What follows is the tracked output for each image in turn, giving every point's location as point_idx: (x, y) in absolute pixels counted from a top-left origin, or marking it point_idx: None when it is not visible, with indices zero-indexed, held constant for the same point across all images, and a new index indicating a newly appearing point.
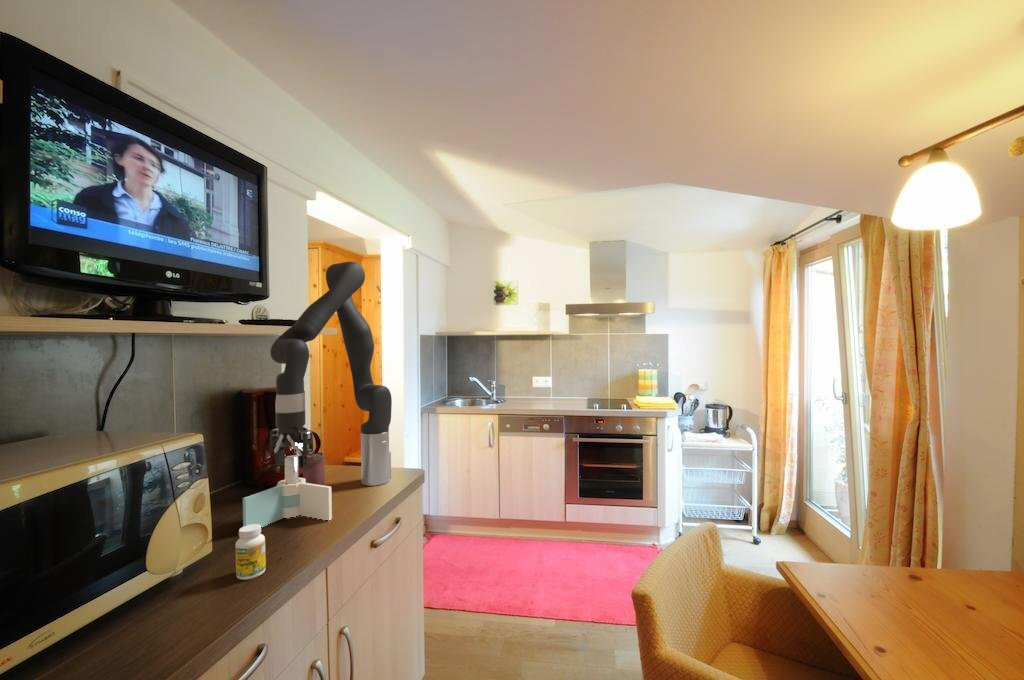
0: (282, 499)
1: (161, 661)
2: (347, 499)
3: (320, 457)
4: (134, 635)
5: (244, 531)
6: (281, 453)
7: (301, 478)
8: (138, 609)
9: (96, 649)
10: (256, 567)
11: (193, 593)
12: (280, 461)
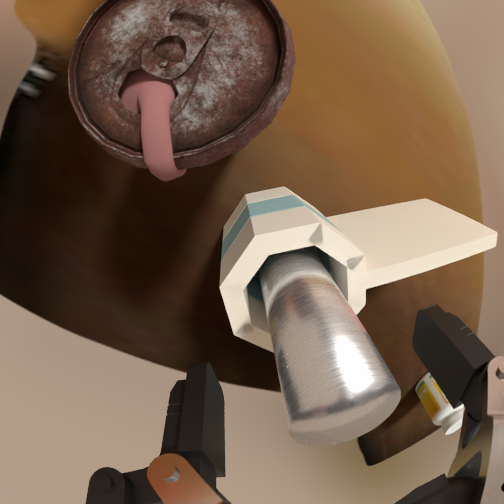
0: None
1: None
2: (323, 41)
3: (287, 35)
4: (403, 439)
5: (456, 429)
6: (214, 458)
7: (297, 236)
8: (371, 444)
9: (392, 450)
10: None
11: (398, 419)
12: (216, 408)
